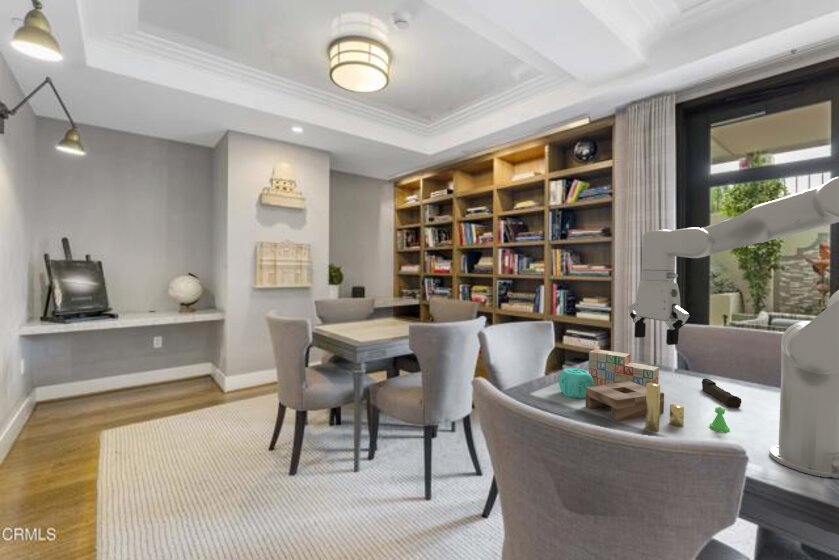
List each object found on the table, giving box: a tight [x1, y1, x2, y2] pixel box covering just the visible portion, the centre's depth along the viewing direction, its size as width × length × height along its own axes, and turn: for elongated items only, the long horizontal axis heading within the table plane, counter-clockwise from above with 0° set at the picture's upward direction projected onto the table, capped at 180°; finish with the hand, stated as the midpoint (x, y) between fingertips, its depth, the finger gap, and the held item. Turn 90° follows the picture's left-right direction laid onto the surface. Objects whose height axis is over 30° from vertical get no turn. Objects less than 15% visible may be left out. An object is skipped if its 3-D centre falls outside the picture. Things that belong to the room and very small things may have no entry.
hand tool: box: [701, 377, 742, 409], centre depth 127 cm, size 19×4×5 cm, turn 166°
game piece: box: [709, 406, 731, 433], centre depth 104 cm, size 4×4×6 cm
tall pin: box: [645, 383, 661, 432], centre depth 104 cm, size 3×3×12 cm
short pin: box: [669, 403, 685, 427], centre depth 107 cm, size 3×3×5 cm
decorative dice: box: [558, 367, 595, 399], centre depth 131 cm, size 8×8×8 cm
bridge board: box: [585, 382, 665, 422], centre depth 117 cm, size 12×18×6 cm, turn 109°
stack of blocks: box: [588, 348, 660, 387], centre depth 137 cm, size 21×6×12 cm, turn 43°
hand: (655, 340), depth 103 cm, fingers open, 9 cm apart
